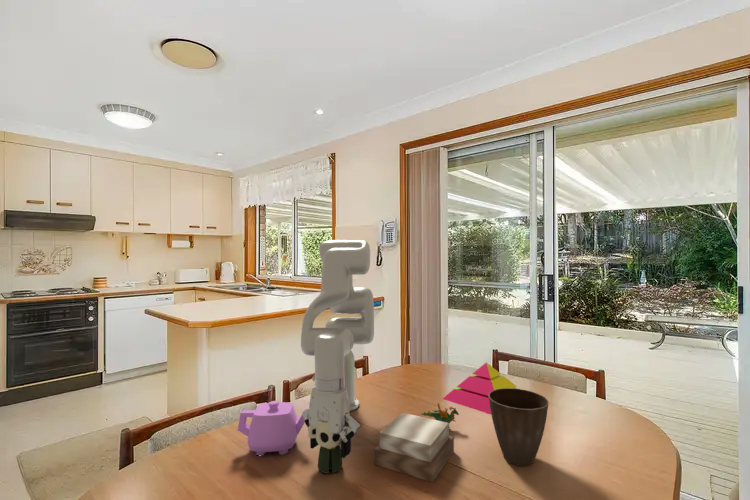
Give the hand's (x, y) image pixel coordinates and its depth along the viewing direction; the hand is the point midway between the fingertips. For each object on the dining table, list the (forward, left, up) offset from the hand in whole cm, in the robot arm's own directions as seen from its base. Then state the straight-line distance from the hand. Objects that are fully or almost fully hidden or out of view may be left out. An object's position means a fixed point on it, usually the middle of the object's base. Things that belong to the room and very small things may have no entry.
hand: (330, 450), depth 96 cm
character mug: (0, 0, -5) cm, 5 cm away
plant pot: (+41, +28, -5) cm, 50 cm away
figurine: (+17, +34, -5) cm, 38 cm away
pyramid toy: (+24, +66, -5) cm, 70 cm away
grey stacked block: (+17, +15, -4) cm, 23 cm away
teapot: (-20, +1, -5) cm, 21 cm away
